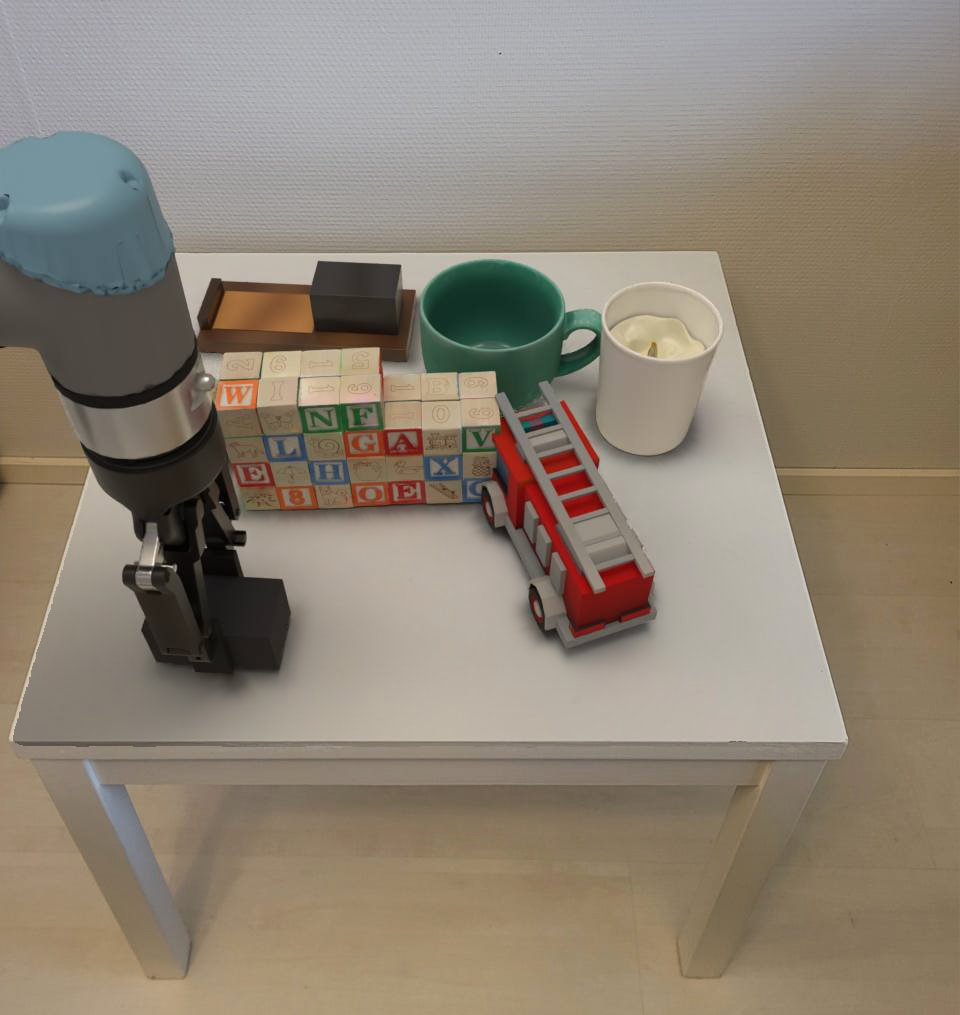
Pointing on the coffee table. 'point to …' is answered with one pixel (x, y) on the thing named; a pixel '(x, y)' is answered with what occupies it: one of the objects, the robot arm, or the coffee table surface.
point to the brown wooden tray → (312, 312)
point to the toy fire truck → (566, 525)
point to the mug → (502, 326)
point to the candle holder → (653, 364)
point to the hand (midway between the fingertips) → (223, 634)
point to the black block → (242, 620)
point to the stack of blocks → (353, 430)
